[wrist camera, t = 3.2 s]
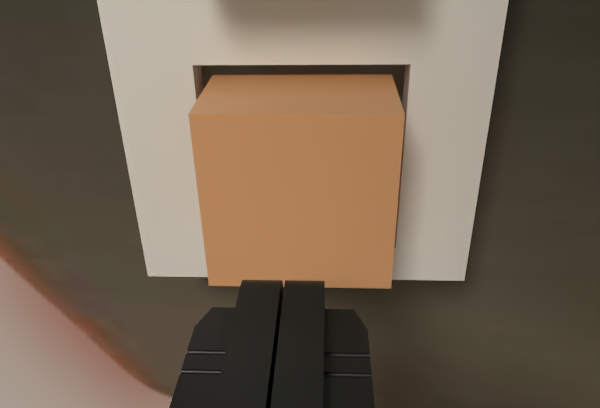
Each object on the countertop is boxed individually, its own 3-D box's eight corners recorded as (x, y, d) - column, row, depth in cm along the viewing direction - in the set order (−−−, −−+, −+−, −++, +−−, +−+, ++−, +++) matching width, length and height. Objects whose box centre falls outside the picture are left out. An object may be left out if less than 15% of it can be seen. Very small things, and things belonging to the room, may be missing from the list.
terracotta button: (212, 74, 15) (188, 113, 13) (391, 74, 15) (404, 114, 12) (226, 226, 18) (208, 285, 15) (381, 227, 17) (391, 288, 15)
